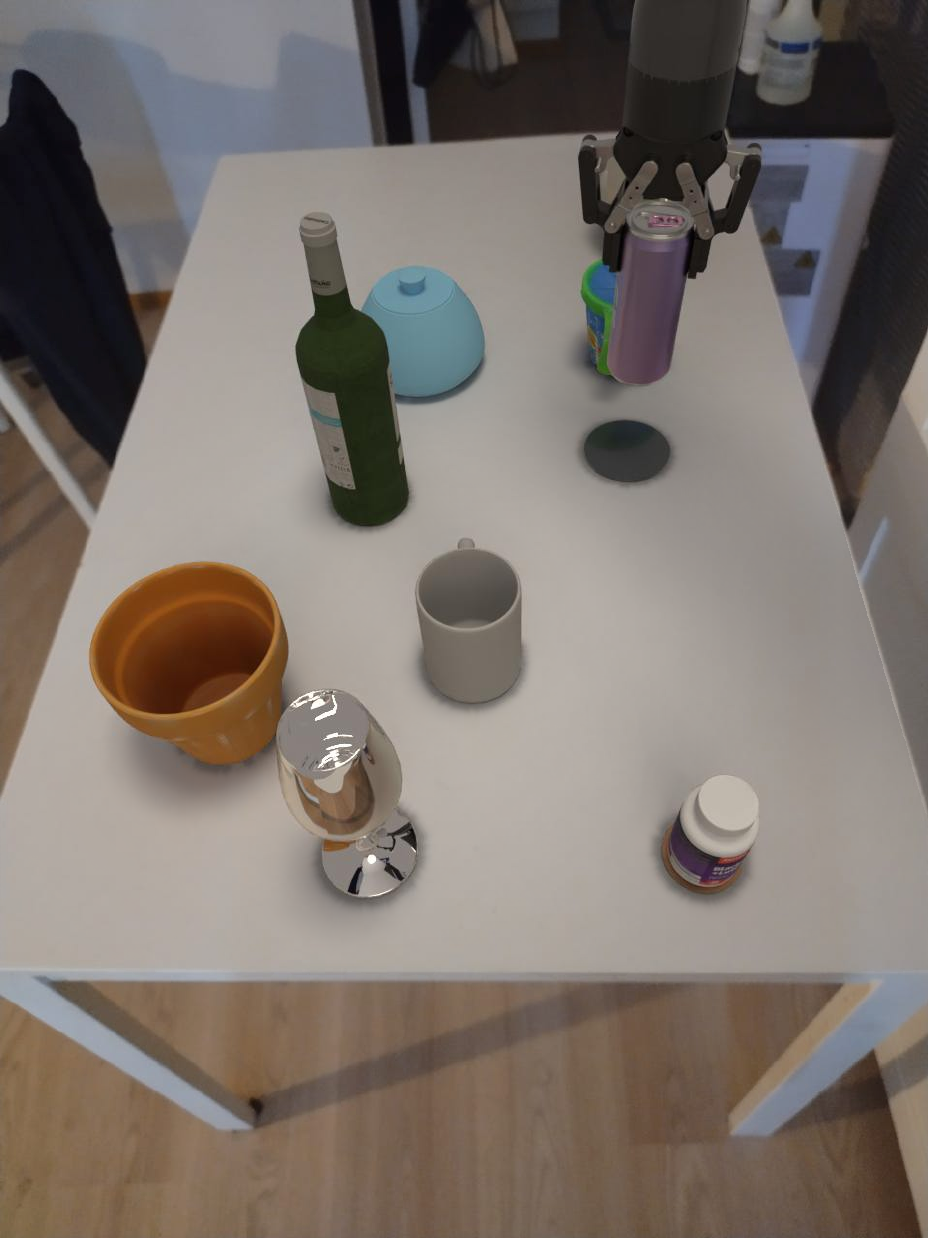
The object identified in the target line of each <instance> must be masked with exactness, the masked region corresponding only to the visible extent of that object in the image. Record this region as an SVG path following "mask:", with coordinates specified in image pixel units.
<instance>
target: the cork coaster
mask: <svg viewBox="0 0 928 1238" xmlns="http://www.w3.org/2000/svg"><path fill="white" fill-rule="evenodd" d="M673 826H674V823H672V824H671V825H670V826H669V827H668V829H667V830H666V831H665V833H664V836H663V839H662V842H661V857H662V861H663V864H664V866H665V869H666V870H667V872H668V873H669V875H670V876H671V877H672V878H673V880H674V881H675V882H676V883H678V884H679V885H680V886H682V887H683V888H684V889H685V888H686V889H687V890H689V891H692V892H694V893H698V894H716V893H720V892H722V891H724V890H727V889H728V888H729V887H731V886H732V885H733V884H734V883H735V882H736V881H737V879H738V878H739V876H740V874H741V871H742V869H743V865H744V864H743V863H744V861H743V862H742V863H741V865H740V866H739V868H738V870H737V871H736V873H735V874H734V875H733V876H732V877H731V878H730V879H729V880H728V881H727V882H725V883H723V884H721V885H718V886H714V887H703V886H698V885H695V884H692V883H690V882H688V881H687V880H685V879H684V878H682V877H681V876H680V875H679V874H678V873H677V872H676V871H675V869H674V868H673V866H672V864H671V862H670V860H669V857H668V850H667V845H668V839H669V835H670V833H671V830H672V828H673Z"/></svg>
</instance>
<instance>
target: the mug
mask: <svg viewBox="0 0 928 1238" xmlns="http://www.w3.org/2000/svg"><path fill="white" fill-rule="evenodd" d="M414 592H415V593H414V595H415V604H416V605H415V606H416V611H417V618H418V623H419V629H420V636H421V641H422V647H423V648H422V649H423V655H424V664H425V669H426V673H427V676H428V679H429V680H430V682H431V683H432V685H433V686H434V687H435V689H436V690H438V691H439V692H440V693H441V694H442V695H444V696H446V697H448V698H449V699H451V700H453V701H454V700H455V701H456V702H462V703H466V704H467V703H468V704H476V703H477V704H478V703H484V702H489V701H492V700H493V699H496V698H498V697H500V696H501V695H503V694H504V693H506V692H507V691H508V690H510V688H511V687H512V686H513V685H514V684H515V682H516V681H517V679H518V678H519V675H520V672H521V669H522V663H523V662H522V661H523V652H522V651H523V649H522V606H523V605H522V604H523V603H522V598H523V597H522V596H523V595H522V583H521V579H520V576H519V574H518V572H517V570H516V568H515V567H514V566H513V565H512V564H511V562H510V561H509V560H507V558H505V557H503V556H502V555H500V554H498V553H497V552H494V551H492V550H488V549H486V548H479V547H476V544H475V541H474V540H473V539H472V538H469V537H463V538H460V539H459V540H458V542H457V548H456V549H452V550H448V551H445V552H444V553H441V554H439V555H437V556H436V557H434V558H433V559H432V560H431V561H429V562H428V563H427V564H426V565H425V566H424V567H423V568H422V570H421V572H420V573H419V575H418V577H417V580H416V583H415V589H414Z"/></svg>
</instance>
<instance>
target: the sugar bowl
mask: <svg viewBox="0 0 928 1238" xmlns="http://www.w3.org/2000/svg"><path fill="white" fill-rule="evenodd" d="M360 311H361V312H363V313H364V314H366V315H368V316H370V317H371V318H373V320H374V321H375V322H376V323H377V324H378V325H379V327H380V328H381V329H382V330H383V332H384V335H385V337H386V342H387V346H388V352H389V359H390V366H391V373H392V380H393V387H394V394H395V395H397V396H401V397H406V398H407V397H408V398H426V397H432V396H438V395H441V394H444V393H446V392H448V391H450V390H452V389H454V388H456V387H457V386H459V385H460V384H462V383H463V382H464V381H465V380H466V379H468V378H469V377H470V376H471V375H472V374H473V373H474V371H475V370H476V369H477V368H478V367H479V365H480V363H481V361H482V358H483V356H484V353H485V348H486V341H485V333H484V328H483V324H482V322H481V318H480V316H479V313H478V311H477V309H476V308H475V305H474V304H473V303H472V301H471V300H470V298H469V296H468V295H467V294H466V293H465V292H464V290H463V289H462V288H461V287H460V285H458V283H457V282H456V281H455V280H454V279H453V278H451V276H450V275H448V274H447V273H446V272H445V271H442V270H440V269H437V268H435V267H430V266H424V265H409V266H403V267H400V268H396V269H394V270H392V271H390V272H388V273H386V274H385V275H383V276H382V277H381V278H379V279H378V280H377V281H376V283H375V284H374V285H373V287H372V288H371V290H370V291H369V293H368V295H367V297H366V299H365V301H364V302H363V305H362V307H361V309H360Z"/></svg>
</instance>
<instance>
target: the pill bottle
mask: <svg viewBox="0 0 928 1238" xmlns="http://www.w3.org/2000/svg"><path fill="white" fill-rule="evenodd" d="M759 811H760V802H759V799H758V796H757V794H756V792H755V790H754V789H753V788H752V787H751V786H750V785H749V784H748V783H747V782H746V781H745V780H743V779H742V778H739V777H737V776H735V775H731V774H718V775H715V776H712V777H710V778H708V779H706V780H705V781H704V782H703V783H701V784H699V785H697V786H695V787H694V788H692V789H691V791H689V792H688V793H687V795H686V796H685V798H684V799H683V801H682V804H681V806H680V808H679V811H678V813H677V816H676V818H675V821H674V823H673V824H674V826H673V828H672V830H671V833H670V835H669V839H668V845H667V850H668V857H669V860H670V862H671V864H672V866H673V868H674V869H675V871H676V872H677V873H678V874H679V875H680V876H681V877H682V878H684V879H685V880H687V881H688V882H690V883H692V884H695V885H698V886H703V887H714V886H718V885H721V884H723V883H725V882H727V881H728V880H729V879H730V878H731V877H732V876H733V875H734V874H735V873H736V871H737V870H738V868H739V866H740V865H741V863H742V862H743V863H744V860H745V859H746V857H747V855H748V854H749V853H750V851H751V849H752V848H753V846H754V845H755V843H756V841H757V838H758V836H759V833H760V829H761V819H760V815H759Z"/></svg>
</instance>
